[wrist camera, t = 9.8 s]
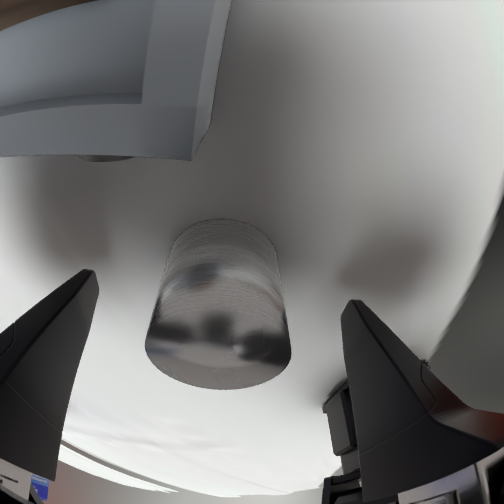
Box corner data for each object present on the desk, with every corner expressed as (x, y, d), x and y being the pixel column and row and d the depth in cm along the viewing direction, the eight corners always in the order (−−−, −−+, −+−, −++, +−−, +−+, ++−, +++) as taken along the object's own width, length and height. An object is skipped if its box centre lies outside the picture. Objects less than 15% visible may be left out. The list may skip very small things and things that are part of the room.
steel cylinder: (289, 226, 10) (311, 318, 6) (265, 307, 12) (272, 392, 9) (170, 212, 9) (136, 300, 6) (170, 296, 11) (152, 381, 8)
